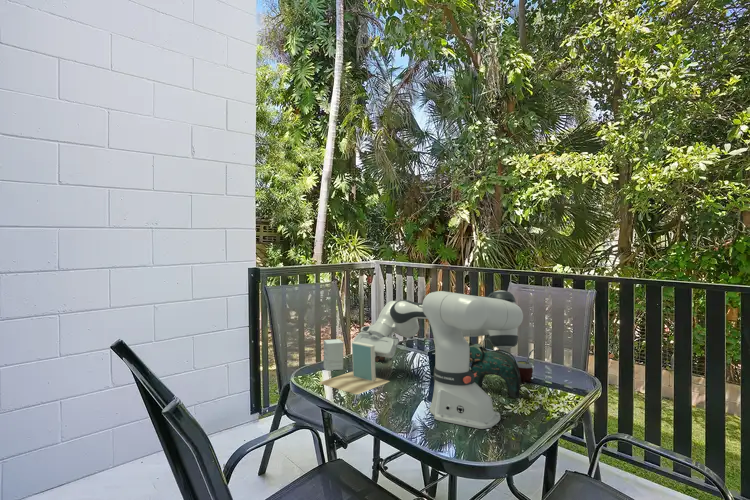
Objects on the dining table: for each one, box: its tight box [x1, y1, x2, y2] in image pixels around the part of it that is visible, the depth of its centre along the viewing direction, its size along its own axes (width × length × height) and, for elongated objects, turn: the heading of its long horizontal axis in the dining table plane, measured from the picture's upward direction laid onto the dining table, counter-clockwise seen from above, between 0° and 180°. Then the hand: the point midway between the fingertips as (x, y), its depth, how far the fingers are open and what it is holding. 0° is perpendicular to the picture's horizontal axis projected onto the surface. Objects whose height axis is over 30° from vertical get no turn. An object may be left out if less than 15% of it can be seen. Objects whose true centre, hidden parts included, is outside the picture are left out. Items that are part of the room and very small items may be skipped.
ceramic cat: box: [468, 338, 522, 399], centre depth 159 cm, size 20×6×20 cm, turn 53°
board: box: [318, 371, 391, 395], centre depth 165 cm, size 20×20×1 cm
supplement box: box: [323, 338, 344, 372], centre depth 185 cm, size 7×7×13 cm
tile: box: [351, 341, 377, 382], centre depth 169 cm, size 10×2×14 cm, turn 52°
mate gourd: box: [516, 347, 537, 385], centre depth 171 cm, size 8×8×15 cm
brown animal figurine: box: [375, 355, 392, 363], centre depth 202 cm, size 12×10×8 cm
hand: (365, 362), depth 171 cm, fingers closed
